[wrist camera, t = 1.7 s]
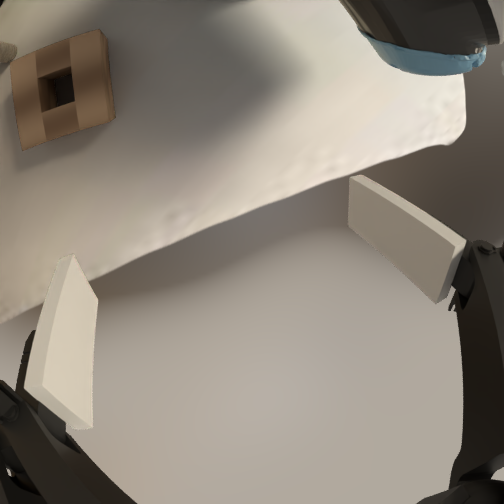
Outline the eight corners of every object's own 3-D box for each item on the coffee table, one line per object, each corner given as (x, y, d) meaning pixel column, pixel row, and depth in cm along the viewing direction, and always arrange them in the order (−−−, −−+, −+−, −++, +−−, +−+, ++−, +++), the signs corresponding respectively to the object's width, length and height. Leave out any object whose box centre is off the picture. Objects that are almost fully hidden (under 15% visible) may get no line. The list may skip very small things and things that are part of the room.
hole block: (30, 65, 20) (10, 62, 15) (107, 39, 23) (99, 28, 18) (40, 140, 26) (22, 151, 21) (115, 117, 28) (109, 122, 23)
